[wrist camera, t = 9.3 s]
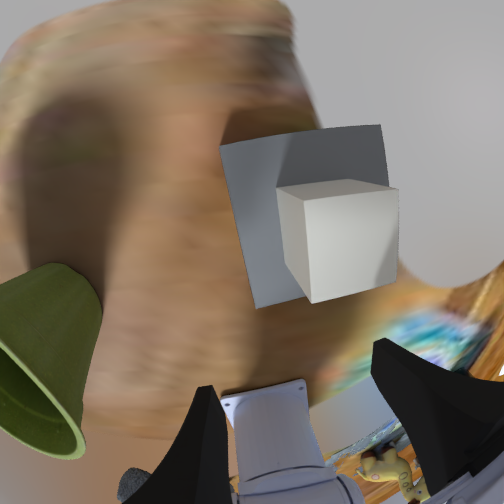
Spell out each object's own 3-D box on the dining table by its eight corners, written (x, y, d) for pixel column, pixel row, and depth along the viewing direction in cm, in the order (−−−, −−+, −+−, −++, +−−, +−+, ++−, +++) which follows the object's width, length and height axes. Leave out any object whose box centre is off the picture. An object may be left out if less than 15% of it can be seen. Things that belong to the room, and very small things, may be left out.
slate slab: (372, 256, 20) (392, 270, 18) (250, 288, 20) (256, 308, 17) (358, 128, 17) (380, 124, 14) (218, 149, 17) (219, 145, 14)
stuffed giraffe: (424, 431, 34) (457, 490, 19) (342, 478, 36) (361, 539, 21) (409, 402, 29) (456, 482, 14) (303, 461, 32) (323, 544, 17)
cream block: (352, 249, 17) (395, 281, 12) (284, 263, 16) (311, 303, 12) (348, 178, 15) (398, 188, 10) (275, 187, 15) (303, 200, 10)
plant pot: (1, 286, 17) (-69, 351, 6) (59, 201, 16) (-57, 250, 5) (82, 376, 21) (44, 466, 10) (160, 321, 19) (127, 447, 9)
